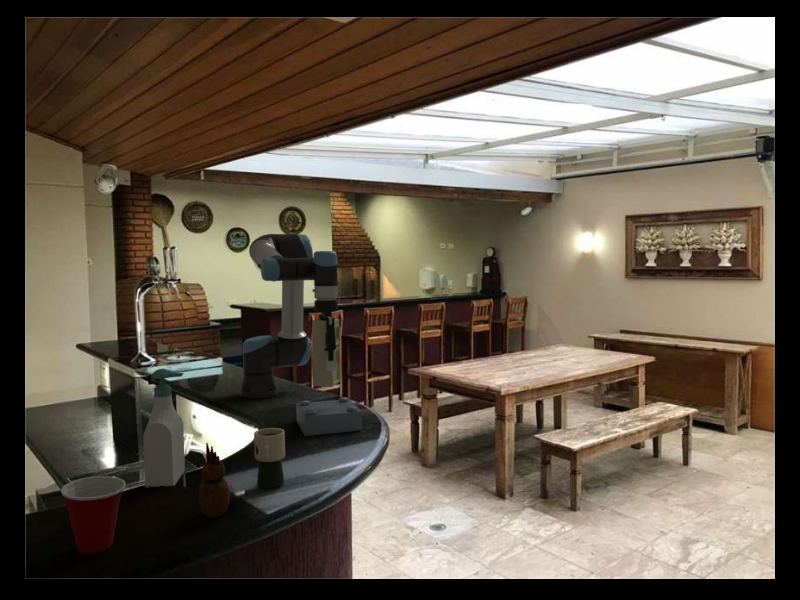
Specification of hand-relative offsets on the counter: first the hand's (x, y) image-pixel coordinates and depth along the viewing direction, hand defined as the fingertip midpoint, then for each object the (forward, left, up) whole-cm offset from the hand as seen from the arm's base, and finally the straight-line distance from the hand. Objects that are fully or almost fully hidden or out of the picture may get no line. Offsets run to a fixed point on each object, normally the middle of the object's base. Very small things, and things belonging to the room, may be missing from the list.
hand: (327, 368), depth 190 cm
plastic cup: (+67, -57, -19) cm, 90 cm away
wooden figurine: (+59, -36, -19) cm, 71 cm away
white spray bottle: (+34, -46, -19) cm, 60 cm away
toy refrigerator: (0, 0, -5) cm, 5 cm away
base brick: (0, 0, -19) cm, 19 cm away
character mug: (+47, -23, -19) cm, 55 cm away
